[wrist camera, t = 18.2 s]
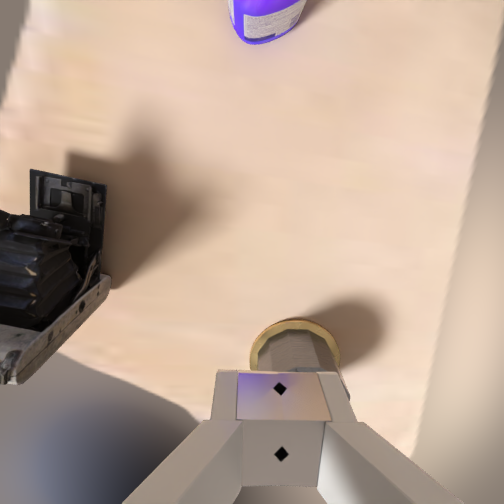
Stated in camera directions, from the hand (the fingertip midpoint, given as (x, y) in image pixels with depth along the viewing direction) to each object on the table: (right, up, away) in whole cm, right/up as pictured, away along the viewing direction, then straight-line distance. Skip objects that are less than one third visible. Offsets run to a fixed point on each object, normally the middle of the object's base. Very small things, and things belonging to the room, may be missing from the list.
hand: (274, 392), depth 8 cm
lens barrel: (+6, -12, +40) cm, 42 cm away
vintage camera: (-23, +6, +34) cm, 41 cm away
